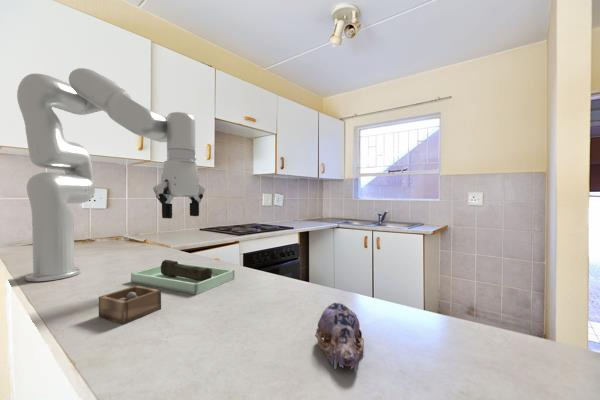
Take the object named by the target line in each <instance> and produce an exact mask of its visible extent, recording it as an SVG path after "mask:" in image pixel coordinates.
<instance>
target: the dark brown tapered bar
mask: <svg viewBox="0 0 600 400" xmlns="http://www.w3.org/2000/svg"><path fill="white" fill-rule="evenodd" d="M178 263H179V262H178V261H177V260H171V259H164V260H163V261H162V262H161V265H160V266H161V273H162V274H163V275H165V276H168V277H175V276H178V277H184V278H188V279H193V280H197V281H201V282H202V281H204V280H207V279H210V278H211V276H212V270H211V269H210V268H206V269H204V268H200V267H191V266H184V265H180V264H178Z"/></svg>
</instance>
